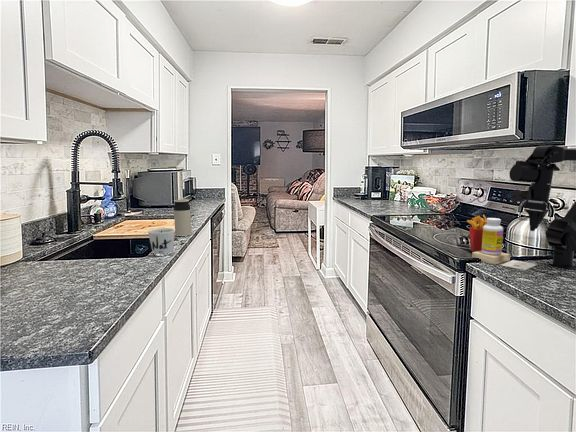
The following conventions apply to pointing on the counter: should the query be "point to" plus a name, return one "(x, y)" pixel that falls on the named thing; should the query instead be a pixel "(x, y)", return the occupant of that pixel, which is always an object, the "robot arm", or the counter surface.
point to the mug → (162, 240)
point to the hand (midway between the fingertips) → (533, 229)
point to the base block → (491, 257)
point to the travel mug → (182, 217)
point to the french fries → (476, 233)
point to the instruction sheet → (519, 264)
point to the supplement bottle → (492, 237)
